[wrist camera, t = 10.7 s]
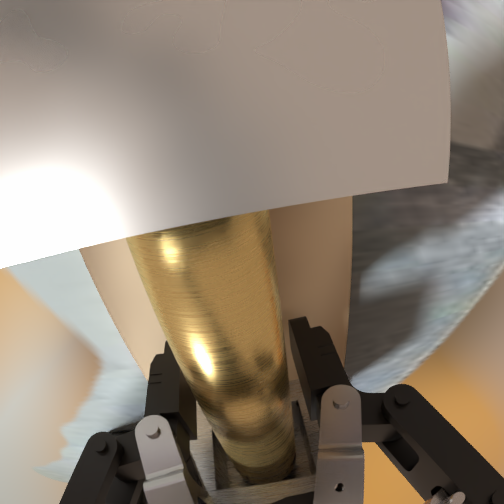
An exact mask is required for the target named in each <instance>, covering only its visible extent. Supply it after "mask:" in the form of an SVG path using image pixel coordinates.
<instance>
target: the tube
mask: <svg viewBox="0 0 504 504" xmlns="http://www.w3.org/2000/svg"><path fill="white" fill-rule="evenodd" d="M126 241H127V244H128V246H129V249H130V252H131V255H132V257H133V260H134V263H135V265H136V268H137V270H138V273H139V276H140V278H141V281H142V283H143V286H144V288H145V291H146V293H147V296H148V298H149V300H150V303H151V305H152V307H153V310H154V312H155V315H156V317H157V319H158V321H159V324H160V326H161V328H162V330H163V333H164V335H165V337H166V339H167V341H168V344H169V346H170V348H171V350H172V352H173V354H174V356H175V359H176V361H177V363H178V365H179V367H180V369H181V371H182V373H183V375H184V377H185V379H186V381H187V383H188V385H189V387H190V389H191V391H192V393H193V395H194V397H195V398H196V400H197V402H198V404H199V406H200V408H201V410H202V412H203V413H204V415H205V417H206V419H207V421H208V423H209V424H210V426H211V428H212V430H213V431H214V433H215V435H216V437H217V438H218V440H219V442H220V444H221V445H222V447H223V449H224V450H225V452H226V454H227V455H228V457H229V459H230V460H231V462H232V464H233V465H234V467H235V469H236V470H237V472H238V473H239V474H240V476H242V477H243V478H244V479H245V480H247V481H249V482H251V483H254V484H260V485H263V484H269V483H275V482H279V481H281V480H282V479H284V478H285V477H286V476H288V475H289V474H290V472H291V471H292V470H293V468H294V466H295V463H296V447H295V436H294V426H293V415H292V405H291V395H290V386H289V376H288V366H287V357H286V348H285V339H284V330H283V321H282V312H281V304H280V295H279V287H278V279H277V270H276V262H275V254H274V246H273V238H272V230H271V223H270V215H269V209H268V210H263V211H257V212H251V213H246V214H241V215H235V216H230V217H224V218H219V219H214V220H209V221H204V222H199V223H194V224H188V225H183V226H179V227H174V228H169V229H164V230H159V231H154V232H150V233H145V234H140V235H136V236H131V237H126Z"/></svg>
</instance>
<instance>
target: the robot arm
mask: <svg viewBox="0 0 504 504" xmlns="http://www.w3.org/2000/svg"><path fill="white" fill-rule="evenodd" d="M288 326H289V337H290V346H291V352H292V356H293V360H294V364H295V367H296V371H297V374H298V378H299V381H300V385H301V388H302V392H303V395H304V399H305V403H306V406H307V410H308V413H309V417H310V420H311V421H315V420H317V422H318V425H319V428H320V433H319V447H318V459H317V470H316V481H315V490H314V491H312V492H308V493H303V494H299V495H294V496H289V497H285V498H283V499H281V500H278V501H276V502H273V503H271V504H363V498H364V450H363V449H362V442H375V443H376V444H377V445H378V446H379V448H380V449H381V450H382V451H383V452H384V453H385V455H386V456H387V457H388V458H389V459H390V461H391V462H392V463H393V464H394V465H395V466H396V468H397V469H398V470H399V471H400V472H401V473H402V475H403V476H404V477H405V478H406V479H407V480H408V482H409V483H410V484H411V485H412V486H413V487H414V488H415V490H416V491H417V492H418V493H419V494H420V496H421V497H422V498H423V499H424V500H425V503H424V504H504V478H503V477H502V476H501V475H500V474H499V473H498V472H497V471H496V470H495V469H494V468H493V467H492V466H491V465H490V464H489V463H488V462H487V461H486V460H485V459H484V458H483V456H481V454H480V453H479V452H477V450H476V449H475V448H473V446H472V445H470V443H468V441H466V439H465V438H464V437H463V436H462V435H461V434H460V433H459V432H458V431H457V430H456V429H455V428H454V427H453V426H452V425H451V424H450V423H449V422H448V421H447V420H446V419H445V418H444V417H443V416H442V415H441V414H440V413H439V412H438V411H437V410H436V409H435V408H434V407H433V406H432V405H431V404H430V403H429V402H428V401H427V400H426V399H425V398H424V397H423V396H422V395H421V394H420V393H419V392H418V391H417V390H416V389H414V388H413V387H412V386H409V385H406V384H398V385H394V386H392V387H390V388H389V389H388V390H387V391H386V393H365V392H361V391H359V390H357V389H356V388H354V387H353V386H352V385H351V383H350V382H349V380H348V377H347V375H346V372H345V370H344V367H343V365H342V363H341V360H340V358H339V355H338V353H337V351H336V348H335V346H334V344H333V341H332V339H331V336H330V334H329V333H328V332H327V331H326V330H325V329H324V328H323V327H322V326H317V327H313V328H310V325H309V322H308V320H307V317H306V316H304V317H299V318H294V319H290V320H288ZM190 440H197V405H196V398H195V397H194V395H193V393H192V391H191V389H190V387H189V385H188V383H187V381H186V379H185V377H184V375H183V373H182V371H181V369H180V367H179V365H178V363H177V361H176V359H175V356H174V354H173V352H172V350H171V348H170V346H169V344H168V341H166V342H165V348H164V353H163V354H156V355H155V357H154V359H153V361H152V362H151V364H150V371H149V379H148V388H147V397H146V407H145V415H144V418H143V419H142V420H140V422H139V423H138V424H137V426H136V428H135V429H134V430H133V431H131V432H128V433H125V434H122V435H119V436H116V437H114V436H113V435H112V434H110V433H108V432H98V433H96V434H94V435H93V436H91V437H90V439H89V440H88V442H87V444H86V446H85V448H84V450H83V452H82V454H81V456H80V459H79V461H78V463H77V465H76V467H75V469H74V472H73V474H72V476H71V478H70V480H69V483H68V485H67V487H66V489H65V492H64V494H63V496H62V499H61V501H60V503H59V504H137V501H138V498H139V496H140V493H141V490H142V487H143V488H144V492H145V496H146V499H147V502H148V504H215V503H214V501H213V500H212V498H211V496H210V495H209V493H208V491H207V490H206V488H205V485H204V483H203V481H202V478H201V476H200V473H199V471H198V468H197V466H196V463H195V461H194V458H193V456H192V453H191V451H190ZM145 479H146V481H145Z"/></svg>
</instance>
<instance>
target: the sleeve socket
mask: <svg viewBox="0 0 504 504" xmlns="http://www.w3.org/2000/svg"><path fill="white" fill-rule="evenodd" d="M450 134H451V98H450V75H449V60H448V49H447V40H446V32H445V24H444V18H443V11H442V5H441V0H0V268H2V267H6V266H10V265H14V264H17V263H21V262H25V261H29V260H33V259H37V258H41V257H45V256H49V255H53V254H57V253H61V252H65V251H70V250H74V249H78V248H82V247H87V246H91V245H95V244H100V243H104V242H108V241H113V240H117V239H122V238H126V237H131V236H136V235H140V234H145V233H150V232H154V231H159V230H164V229H169V228H174V227H179V226H183V225H188V224H194V223H199V222H204V221H209V220H214V219H219V218H224V217H230V216H235V215H241V214H246V213H251V212H257V211H263V210H268V209H274V208H280V207H286V206H291V205H297V204H303V203H309V202H316V201H322V200H328V199H334V198H341V197H347V196H354V195H361V194H367V193H374V192H381V191H388V190H396V189H403V188H410V187H418V186H426V185H434V184H442V183H448V173H449V158H450ZM289 386H290V395H291V405H292V415H293V426H294V436H295V447H296V463H295V466H294V468H293V470H292V471H291V472H290V474H289V475H288V476H286V477H285V478H284V479H282V480H281V481H279V482H275V483H269V484H263V485H260V484H254V483H251V482H249V481H247V480H245V479H244V478H243V477H242V476H240V474H239V473H238V472H237V470H236V469H235V467H234V465H233V464H232V462H231V460H230V459H229V457H228V455H227V454H226V452H225V450H224V449H223V447H222V445H221V444H220V442H219V440H218V438H217V437H216V435H215V433H214V431H213V430H212V428H211V426H210V424H209V423H208V421H207V419H206V417H205V415H204V413H203V412H202V410H201V408H200V406H199V404H198V402H197V400H196V405H197V440H190V451H191V453H192V456H193V458H194V461H195V463H196V466H197V468H198V471H199V473H200V476H201V478H202V481H203V483H204V485H205V488H206V490H207V491H208V493H209V495H210V496H211V498H212V500H213V501H214V503H215V504H271V503H273V502H276V501H278V500H281V499H283V498H285V497H289V496H294V495H299V494H303V493H308V492H312V491H314V490H315V481H316V470H317V459H318V447H319V433H320V428H319V425H318V422H317V420H315V421H311V420H310V417H309V413H308V410H307V406H306V403H305V399H304V395H303V392H302V388H301V385H300V381H299V379H296V380H291V381H289Z"/></svg>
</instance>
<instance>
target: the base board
mask: <svg viewBox="0 0 504 504" xmlns="http://www.w3.org/2000/svg"><path fill="white" fill-rule="evenodd" d="M269 215H270V223H271V230H272V238H273V246H274V254H275V262H276V270H277V279H278V287H279V295H280V304H281V312H282V321H283V330H284V339H285V348H286V357H287V366H288V376H289V381H291V380H296V379H299V378H298V374H297V371H296V367H295V364H294V360H293V356H292V352H291V346H290V337H289V326H288V320H290V319H294V318H299V317H304V316H306V317H307V320H308V322H309V325H310V328H313V327H317V326H322V327H323V328H324V329H325V330H326V331H327V332H328V333H329V334H330V336H331V339H332V341H333V344H334V346H335V348H336V351H337V353H338V355H339V358H340V360H341V363H342V365H343V367H344V364H345V355H346V344H347V333H348V320H349V306H350V289H351V267H352V196H347V197H341V198H334V199H328V200H322V201H316V202H309V203H303V204H297V205H291V206H286V207H280V208H274V209H269ZM79 250H80V253H81V255H82V257H83V259H84V262H85V264H86V266H87V269H88V271H89V273H90V275H91V277H92V279H93V282H94V284H95V286H96V288H97V290H98V292H99V294H100V296H101V298H102V300H103V302H104V304H105V306H106V308H107V310H108V312H109V314H110V316H111V318H112V320H113V322H114V324H115V326H116V327H117V329H118V331H119V333H120V335H121V337H122V338H123V340H124V342H125V344H126V346H127V347H128V349H129V351H130V353H131V354H132V356H133V358H134V359H135V361H136V363H137V364H138V366H139V368H140V369H141V371H142V373H143V374H144V376H145V378H146V379H147V381H148V379H149V371H150V364H151V362H152V361H153V359H154V357H155V355H156V354H163V353H164V348H165V342H166V341H167V339H166V337H165V335H164V333H163V330H162V328H161V326H160V324H159V321H158V319H157V317H156V315H155V312H154V310H153V307H152V305H151V303H150V300H149V298H148V296H147V293H146V291H145V288H144V286H143V283H142V281H141V278H140V276H139V273H138V270H137V268H136V265H135V263H134V260H133V257H132V255H131V252H130V249H129V246H128V244H127V241H126V238H122V239H117V240H113V241H108V242H104V243H100V244H95V245H91V246H87V247H82V248H79Z"/></svg>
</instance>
